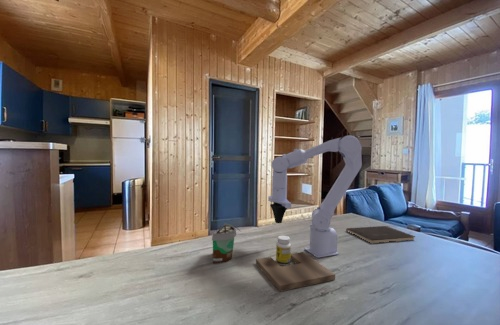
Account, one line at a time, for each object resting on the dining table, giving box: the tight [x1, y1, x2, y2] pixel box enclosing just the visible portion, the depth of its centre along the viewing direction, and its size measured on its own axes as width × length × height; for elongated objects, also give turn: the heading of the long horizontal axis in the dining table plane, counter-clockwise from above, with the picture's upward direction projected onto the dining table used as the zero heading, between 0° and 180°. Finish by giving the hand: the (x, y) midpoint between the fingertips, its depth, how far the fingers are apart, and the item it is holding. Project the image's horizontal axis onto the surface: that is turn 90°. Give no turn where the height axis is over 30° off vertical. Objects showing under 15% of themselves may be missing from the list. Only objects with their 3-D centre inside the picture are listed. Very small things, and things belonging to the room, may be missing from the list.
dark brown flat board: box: [346, 225, 416, 244], centre depth 104 cm, size 16×23×2 cm
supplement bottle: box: [275, 235, 292, 267], centre depth 74 cm, size 5×5×8 cm
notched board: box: [255, 251, 336, 292], centre depth 69 cm, size 18×16×2 cm
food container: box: [211, 223, 237, 264], centre depth 76 cm, size 12×6×10 cm, turn 168°
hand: (278, 222), depth 87 cm, fingers closed
